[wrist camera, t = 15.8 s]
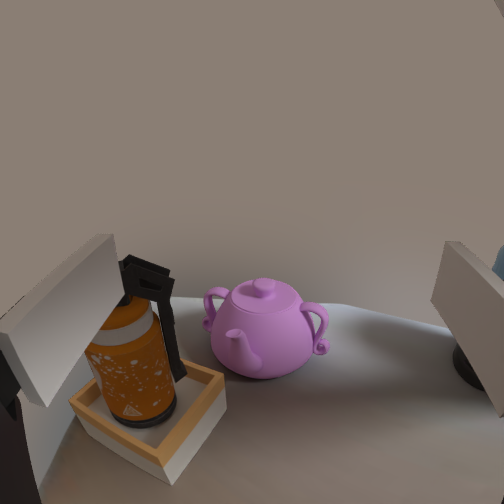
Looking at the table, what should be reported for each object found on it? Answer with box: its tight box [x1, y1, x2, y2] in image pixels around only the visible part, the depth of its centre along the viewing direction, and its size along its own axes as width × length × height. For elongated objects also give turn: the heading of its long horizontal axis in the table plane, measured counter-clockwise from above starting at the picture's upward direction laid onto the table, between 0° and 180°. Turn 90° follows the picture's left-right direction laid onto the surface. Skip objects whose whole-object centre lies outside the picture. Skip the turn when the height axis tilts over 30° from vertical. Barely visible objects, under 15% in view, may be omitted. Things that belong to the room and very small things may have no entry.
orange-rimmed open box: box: [69, 353, 227, 486], centre depth 37 cm, size 15×15×8 cm
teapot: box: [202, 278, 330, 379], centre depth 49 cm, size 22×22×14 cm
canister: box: [84, 254, 188, 429], centre depth 33 cm, size 9×11×20 cm
